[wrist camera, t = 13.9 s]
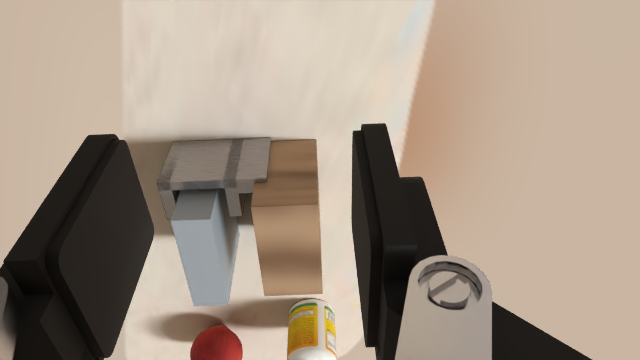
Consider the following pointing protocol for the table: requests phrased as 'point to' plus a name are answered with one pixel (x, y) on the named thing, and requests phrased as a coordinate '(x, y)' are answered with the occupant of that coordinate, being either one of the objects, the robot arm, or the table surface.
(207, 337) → the onion
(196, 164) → the gray wooden bench
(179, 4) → the table surface
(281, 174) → the brown tall rectangular block
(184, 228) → the pale blue tall prism
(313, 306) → the supplement bottle
